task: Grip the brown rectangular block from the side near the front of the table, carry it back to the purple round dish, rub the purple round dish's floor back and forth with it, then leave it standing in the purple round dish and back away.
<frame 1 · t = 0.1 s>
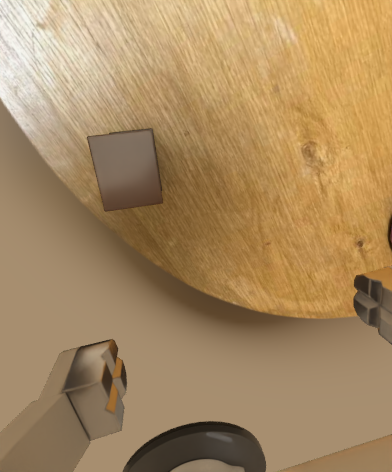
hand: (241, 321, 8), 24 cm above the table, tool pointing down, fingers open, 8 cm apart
brown rectangular block: (137, 162, 29), on the table
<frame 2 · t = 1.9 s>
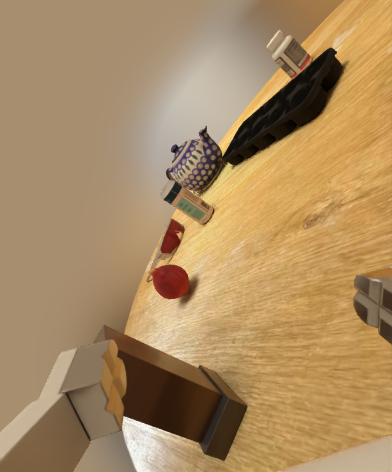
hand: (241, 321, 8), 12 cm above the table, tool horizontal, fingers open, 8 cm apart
brown rectangular block: (218, 409, 24), on the table
beer can: (209, 217, 59), on the table
sunglasses: (168, 250, 74), on the table
teapot: (212, 177, 78), on the table
black muffin tray: (277, 127, 53), on the table
pill bottle: (303, 70, 59), on the table
onion: (189, 292, 45), on the table
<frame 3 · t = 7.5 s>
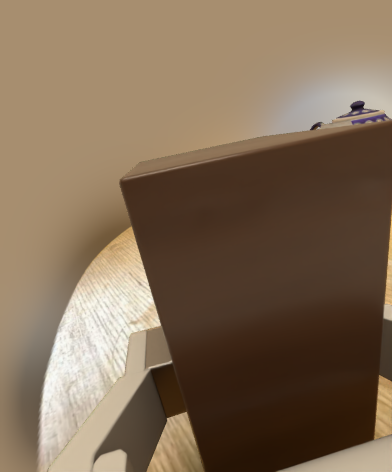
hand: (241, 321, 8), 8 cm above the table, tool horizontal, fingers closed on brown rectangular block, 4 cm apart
teapot: (355, 172, 59), on the table
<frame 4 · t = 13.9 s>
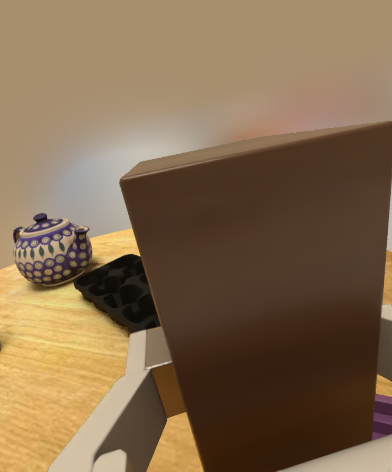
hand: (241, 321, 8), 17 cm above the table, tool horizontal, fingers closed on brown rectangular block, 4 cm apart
teapot: (65, 275, 58), on the table
black muffin tray: (147, 304, 41), on the table
when the fingers open (8 cm above the table, at t = 20.2 s): brown rectangular block stays where it is, resting on purple round dish.
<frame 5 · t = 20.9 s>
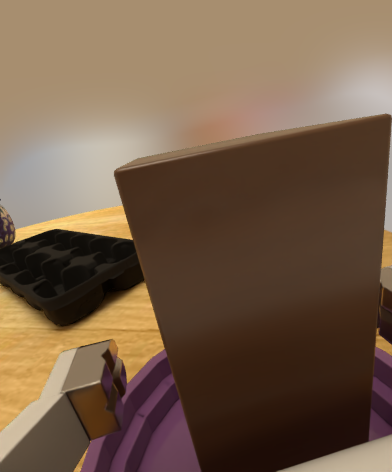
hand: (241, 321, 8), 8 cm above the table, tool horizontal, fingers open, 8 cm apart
black muffin tray: (61, 275, 36), on the table
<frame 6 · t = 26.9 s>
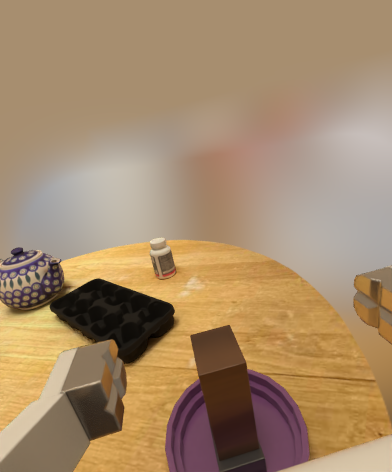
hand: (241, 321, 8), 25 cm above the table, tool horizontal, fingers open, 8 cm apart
brown rectangular block: (234, 441, 27), point 1 cm above the table, touching purple round dish
teapot: (40, 299, 68), on the table
purple round dish: (237, 445, 27), on the table
black muffin tray: (111, 320, 53), on the table
pill bottle: (166, 275, 67), on the table
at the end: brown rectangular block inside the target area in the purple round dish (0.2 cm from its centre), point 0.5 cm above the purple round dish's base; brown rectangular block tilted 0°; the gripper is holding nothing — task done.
